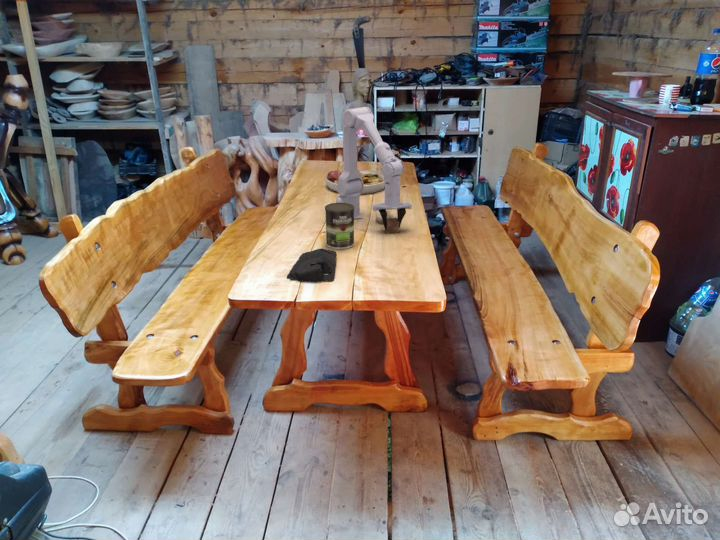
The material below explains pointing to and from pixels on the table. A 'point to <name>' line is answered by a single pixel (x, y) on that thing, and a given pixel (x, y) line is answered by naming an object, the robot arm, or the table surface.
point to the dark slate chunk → (314, 266)
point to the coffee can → (339, 225)
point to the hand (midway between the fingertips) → (391, 227)
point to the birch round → (389, 215)
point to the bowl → (370, 180)
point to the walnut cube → (392, 225)
